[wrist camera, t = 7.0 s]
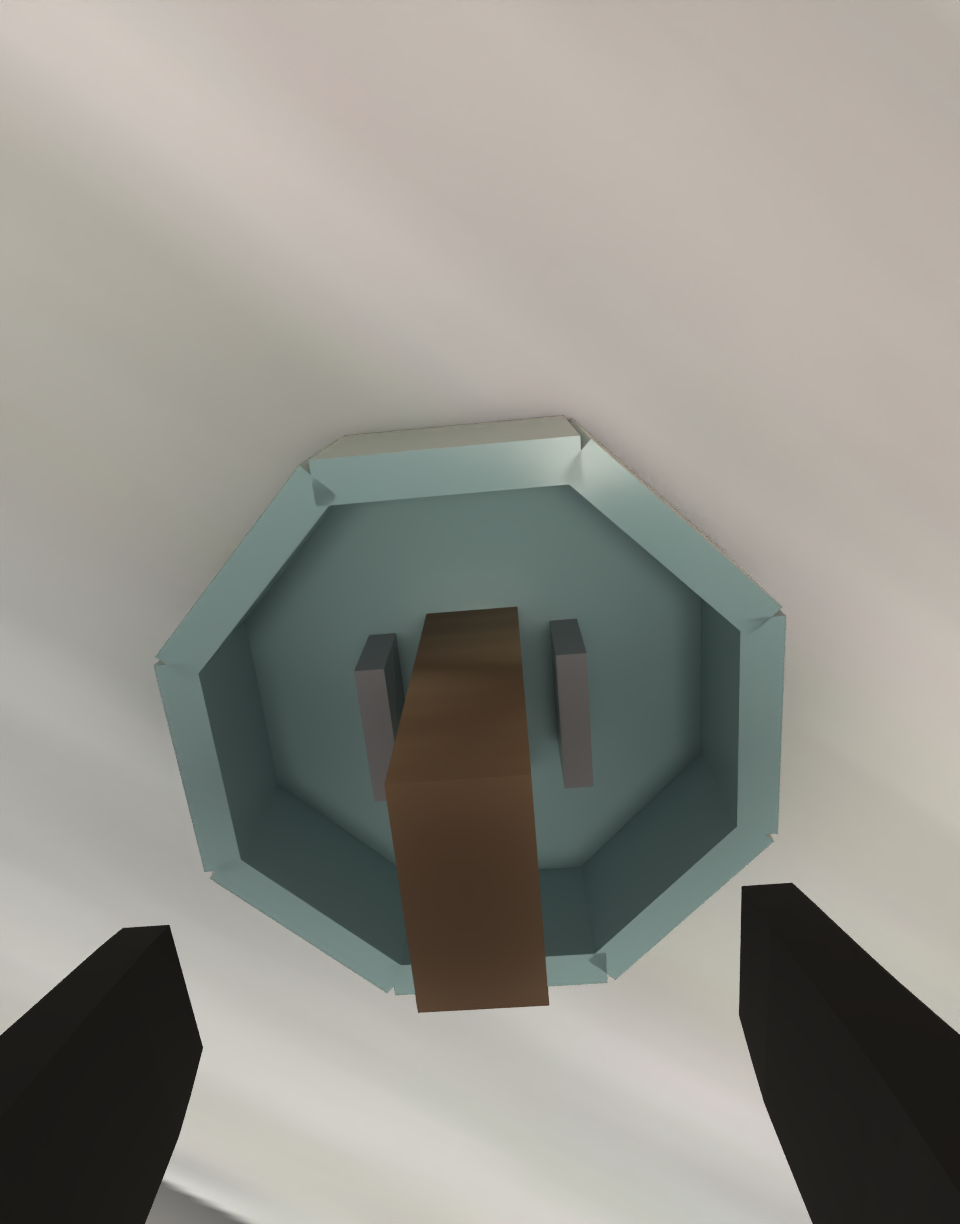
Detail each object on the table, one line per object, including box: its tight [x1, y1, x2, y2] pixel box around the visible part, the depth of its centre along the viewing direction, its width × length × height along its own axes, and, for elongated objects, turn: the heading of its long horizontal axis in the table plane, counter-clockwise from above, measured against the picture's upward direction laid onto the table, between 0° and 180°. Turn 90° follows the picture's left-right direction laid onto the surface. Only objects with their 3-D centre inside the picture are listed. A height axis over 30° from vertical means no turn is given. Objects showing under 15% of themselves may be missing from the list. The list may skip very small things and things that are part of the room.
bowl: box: [154, 416, 786, 995], centre depth 17 cm, size 12×12×4 cm
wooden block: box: [384, 606, 549, 1013], centre depth 15 cm, size 2×4×7 cm, turn 5°
